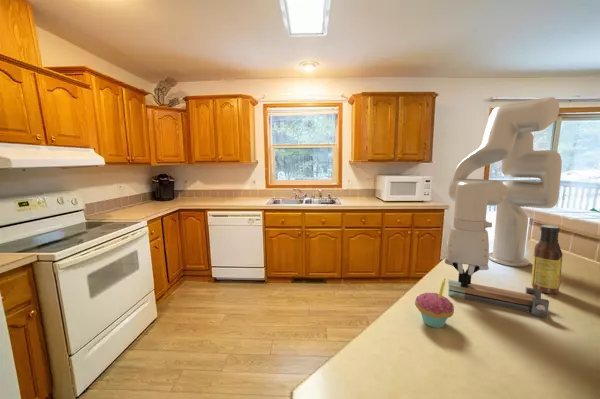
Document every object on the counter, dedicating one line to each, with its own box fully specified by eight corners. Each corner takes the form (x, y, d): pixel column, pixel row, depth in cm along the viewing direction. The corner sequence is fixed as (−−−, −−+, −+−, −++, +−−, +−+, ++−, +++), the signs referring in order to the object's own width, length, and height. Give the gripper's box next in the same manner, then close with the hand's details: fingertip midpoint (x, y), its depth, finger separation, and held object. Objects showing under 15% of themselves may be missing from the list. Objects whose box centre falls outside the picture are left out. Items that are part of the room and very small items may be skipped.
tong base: (448, 286, 81) (449, 273, 80) (537, 303, 70) (539, 288, 70) (448, 298, 74) (449, 284, 73) (547, 319, 63) (550, 302, 63)
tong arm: (448, 283, 79) (449, 279, 79) (533, 299, 69) (534, 294, 69) (448, 289, 75) (449, 284, 75) (538, 307, 66) (538, 302, 65)
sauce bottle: (564, 295, 74) (573, 229, 71) (539, 294, 75) (547, 229, 72) (547, 285, 80) (555, 224, 77) (525, 283, 82) (531, 223, 79)
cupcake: (448, 315, 66) (451, 271, 64) (456, 336, 58) (460, 287, 57) (412, 309, 69) (414, 268, 67) (416, 329, 61) (418, 282, 59)
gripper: (499, 224, 72) (493, 285, 74) (439, 219, 79) (435, 275, 82) (504, 231, 65) (498, 297, 68) (438, 225, 73) (435, 285, 75)
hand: (464, 285), depth 75 cm, fingers closed
